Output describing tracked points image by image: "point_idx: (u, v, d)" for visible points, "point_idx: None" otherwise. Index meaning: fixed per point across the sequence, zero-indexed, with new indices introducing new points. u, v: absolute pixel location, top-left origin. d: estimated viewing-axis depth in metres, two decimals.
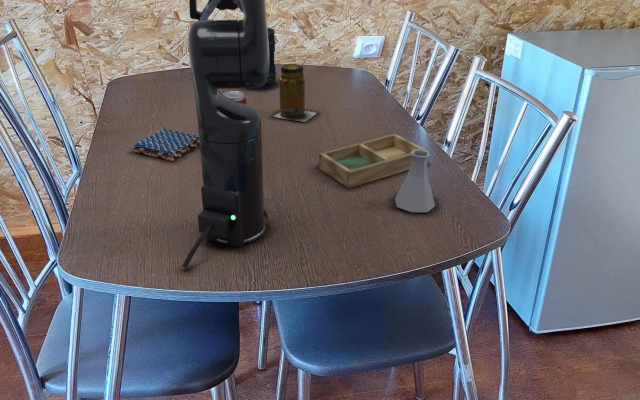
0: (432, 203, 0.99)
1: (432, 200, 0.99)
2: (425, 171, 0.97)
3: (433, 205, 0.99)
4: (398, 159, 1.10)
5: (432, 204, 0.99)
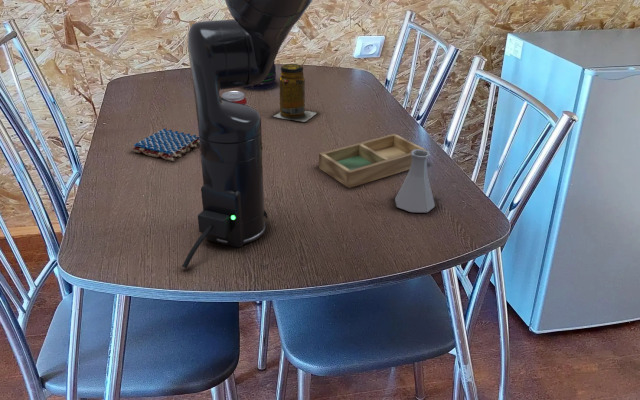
0: (432, 203, 0.99)
1: (432, 200, 0.99)
2: (425, 171, 0.97)
3: (433, 205, 0.99)
4: (398, 159, 1.10)
5: (432, 204, 0.99)
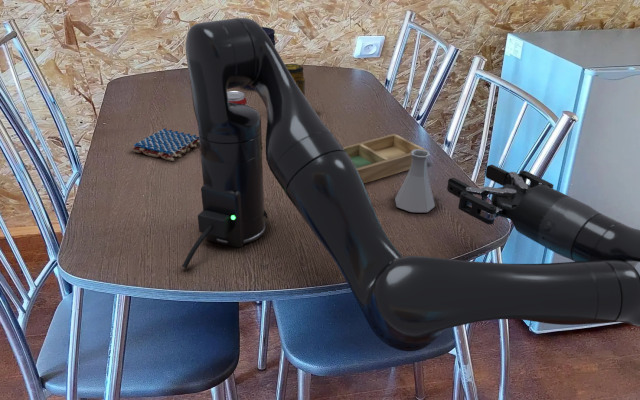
0: (432, 203, 0.99)
1: (432, 200, 0.99)
2: (425, 171, 0.97)
3: (433, 205, 0.99)
4: (398, 159, 1.10)
5: (432, 204, 0.99)
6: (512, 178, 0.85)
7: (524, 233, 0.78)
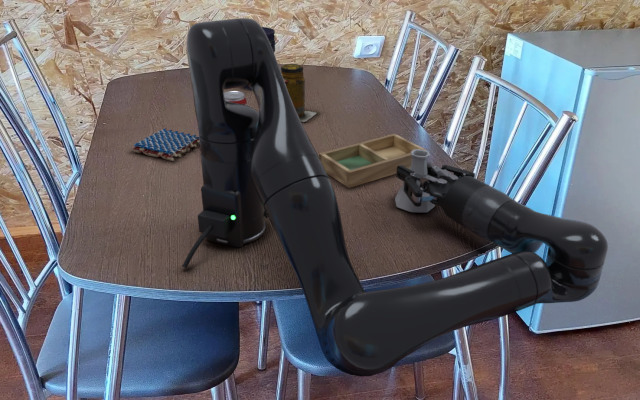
0: None
1: None
2: (425, 171, 0.97)
3: (433, 205, 0.99)
4: (398, 159, 1.10)
5: (432, 204, 0.99)
6: (438, 172, 0.96)
7: (452, 218, 0.89)
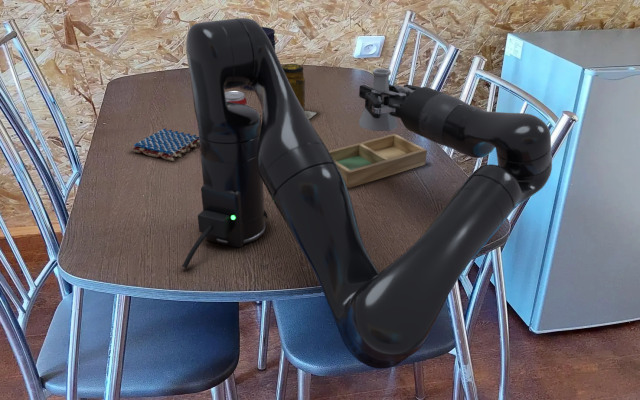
0: (395, 123, 1.00)
1: (395, 120, 1.00)
2: (387, 89, 0.98)
3: (396, 125, 1.01)
4: (398, 159, 1.10)
5: (395, 124, 1.00)
6: (399, 89, 0.97)
7: (410, 128, 0.90)
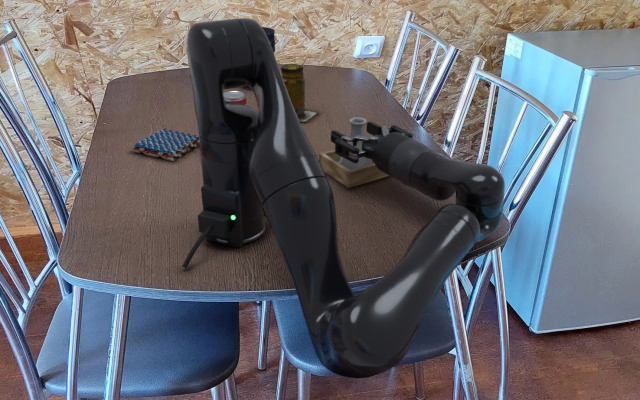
0: None
1: None
2: None
3: None
4: None
5: None
6: (382, 130, 1.06)
7: (382, 170, 0.99)
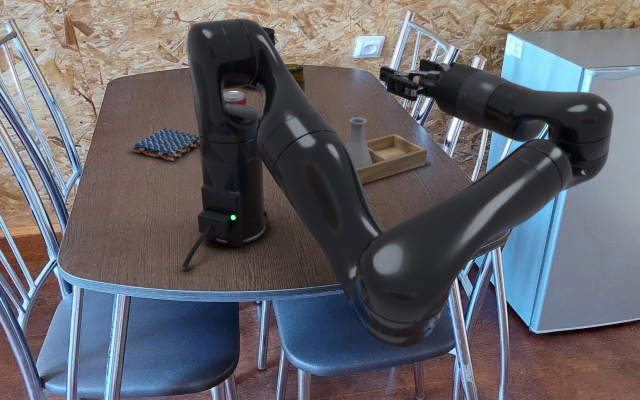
0: None
1: None
2: (362, 137, 1.07)
3: None
4: (398, 159, 1.10)
5: None
6: (440, 66, 0.89)
7: (445, 109, 0.82)
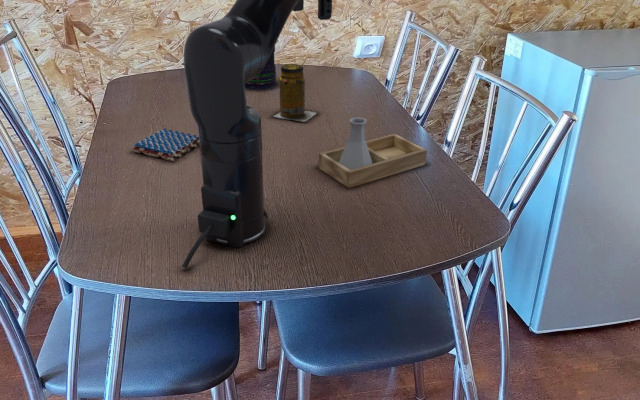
0: None
1: None
2: (362, 137, 1.07)
3: None
4: (398, 159, 1.10)
5: None
6: None
7: None
